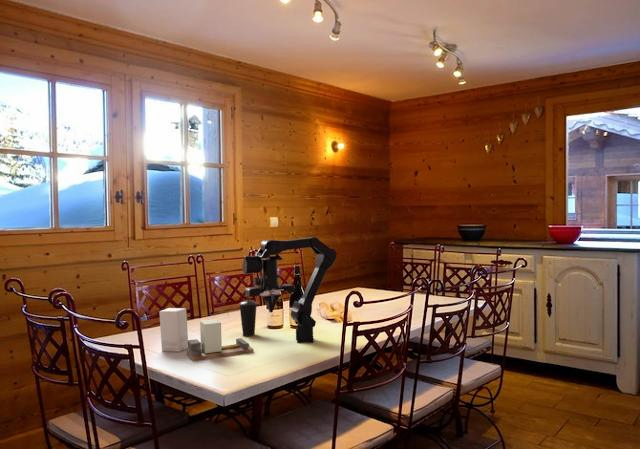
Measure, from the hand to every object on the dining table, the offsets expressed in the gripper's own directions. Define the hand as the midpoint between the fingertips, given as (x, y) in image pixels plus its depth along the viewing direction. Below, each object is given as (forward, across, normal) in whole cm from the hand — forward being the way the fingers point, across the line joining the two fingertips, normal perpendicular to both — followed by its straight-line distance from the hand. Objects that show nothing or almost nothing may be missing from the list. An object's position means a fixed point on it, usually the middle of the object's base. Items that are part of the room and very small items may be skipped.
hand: (270, 312), depth 201 cm
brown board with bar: (+13, +21, 0) cm, 24 cm away
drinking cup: (+13, +2, -21) cm, 25 cm away
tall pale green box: (+11, +24, 0) cm, 26 cm away
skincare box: (+13, +34, -14) cm, 39 cm away
